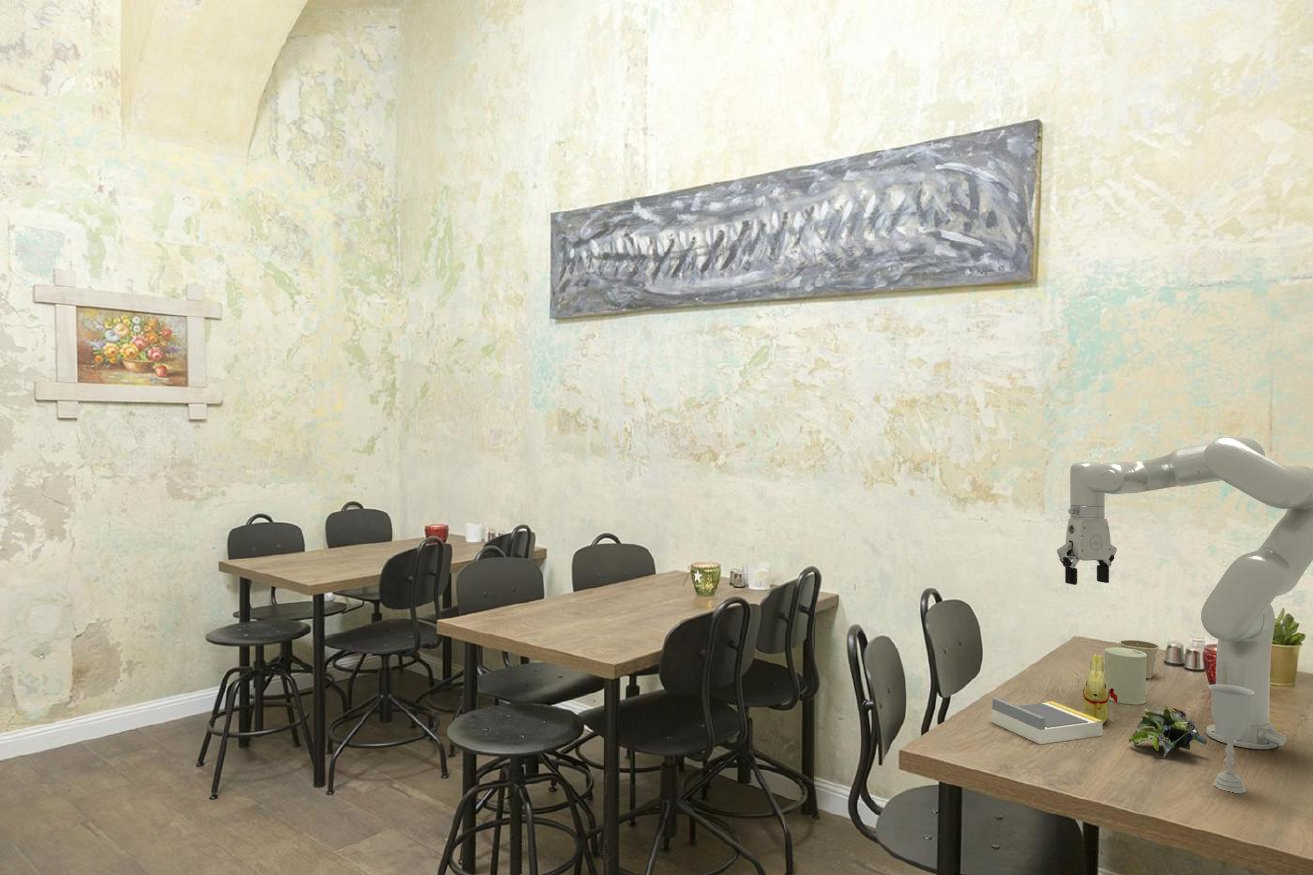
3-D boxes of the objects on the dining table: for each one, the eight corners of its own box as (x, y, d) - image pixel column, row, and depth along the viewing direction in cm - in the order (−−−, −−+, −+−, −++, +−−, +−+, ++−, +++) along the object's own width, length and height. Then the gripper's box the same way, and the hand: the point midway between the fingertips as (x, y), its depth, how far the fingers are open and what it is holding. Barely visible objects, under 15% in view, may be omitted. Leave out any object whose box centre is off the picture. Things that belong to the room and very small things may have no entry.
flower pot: (1123, 679, 227) (1123, 646, 227) (1115, 669, 236) (1115, 638, 236) (1163, 682, 224) (1163, 649, 224) (1153, 673, 233) (1154, 641, 233)
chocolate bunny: (1081, 726, 190) (1082, 658, 189) (1084, 712, 199) (1086, 647, 199) (1116, 731, 186) (1117, 663, 186) (1118, 717, 196) (1119, 652, 195)
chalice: (1235, 779, 161) (1237, 684, 161) (1262, 795, 154) (1264, 695, 154) (1197, 779, 161) (1199, 684, 160) (1222, 795, 154) (1224, 695, 154)
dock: (1102, 735, 184) (1102, 710, 184) (1040, 744, 178) (1040, 718, 178) (1051, 714, 197) (1051, 691, 197) (992, 722, 191) (992, 698, 191)
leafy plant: (1174, 776, 176) (1216, 734, 173) (1166, 782, 168) (1209, 738, 165) (1125, 733, 183) (1165, 692, 180) (1115, 737, 174) (1156, 694, 171)
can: (1154, 705, 205) (1155, 655, 205) (1115, 704, 205) (1116, 654, 205) (1133, 693, 214) (1134, 645, 214) (1096, 692, 214) (1097, 644, 214)
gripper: (1070, 515, 203) (1070, 587, 203) (1127, 513, 208) (1127, 583, 208) (1047, 512, 210) (1047, 582, 210) (1102, 511, 216) (1102, 579, 215)
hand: (1087, 583), depth 209 cm, fingers open, 9 cm apart
